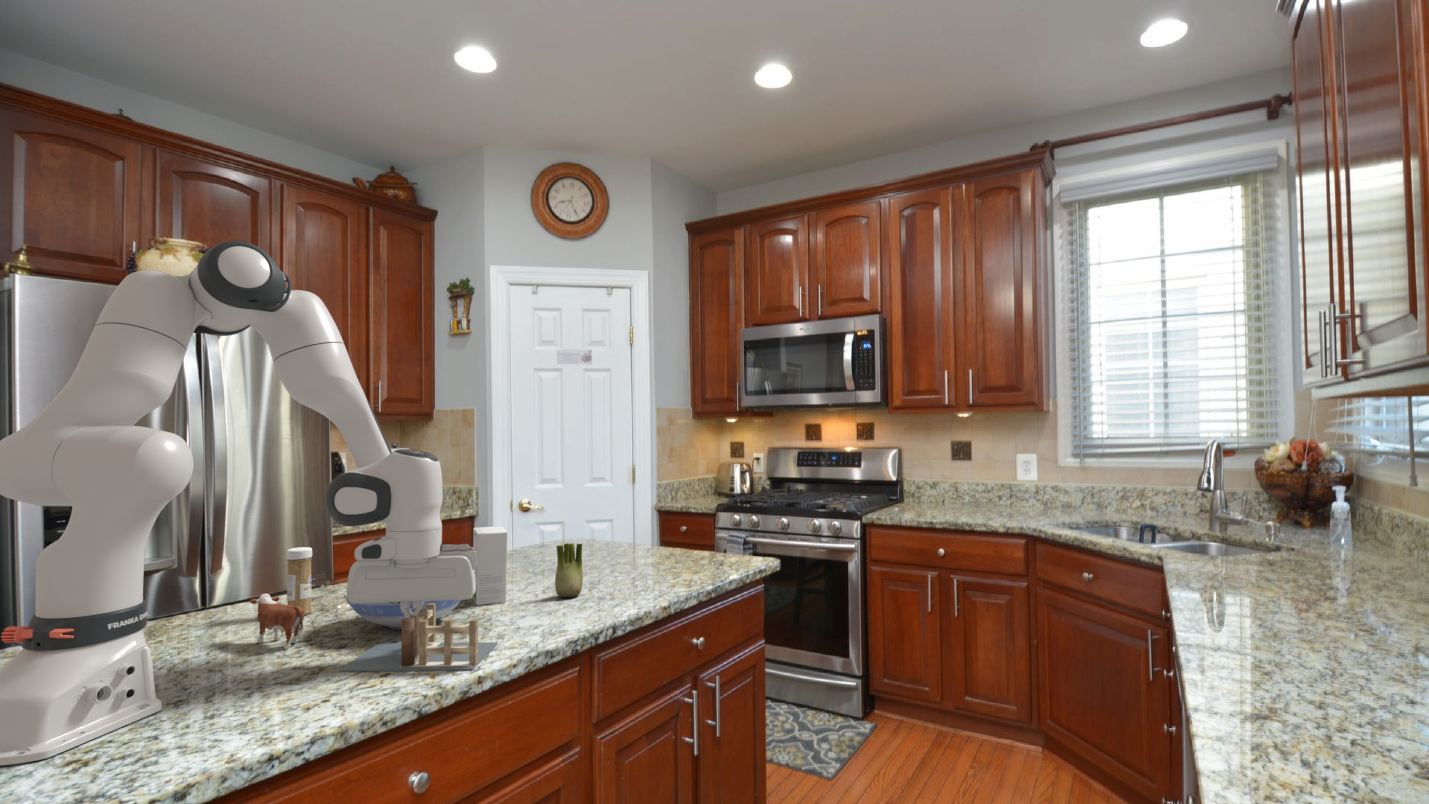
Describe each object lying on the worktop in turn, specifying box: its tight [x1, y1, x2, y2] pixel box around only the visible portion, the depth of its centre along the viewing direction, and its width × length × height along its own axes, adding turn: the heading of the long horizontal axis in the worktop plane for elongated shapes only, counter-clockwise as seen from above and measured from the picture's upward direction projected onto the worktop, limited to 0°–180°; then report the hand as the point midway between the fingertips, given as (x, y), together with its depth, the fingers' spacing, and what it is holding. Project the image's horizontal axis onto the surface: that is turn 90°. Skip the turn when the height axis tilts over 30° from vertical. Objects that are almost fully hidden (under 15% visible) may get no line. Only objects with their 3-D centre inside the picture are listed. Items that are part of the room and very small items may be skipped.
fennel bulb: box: [554, 543, 584, 599], centre depth 158 cm, size 6×5×12 cm
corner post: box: [400, 618, 415, 666], centre depth 114 cm, size 2×2×8 cm
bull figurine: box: [249, 593, 305, 650], centre depth 126 cm, size 4×13×8 cm, turn 59°
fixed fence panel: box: [419, 618, 479, 665], centre depth 114 cm, size 9×1×7 cm, turn 90°
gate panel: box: [409, 603, 437, 657], centre depth 120 cm, size 9×1×6 cm, turn 2°
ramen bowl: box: [342, 589, 462, 630], centre depth 138 cm, size 25×23×8 cm
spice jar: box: [285, 546, 313, 616], centre depth 146 cm, size 5×5×14 cm
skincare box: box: [471, 525, 508, 606], centre depth 156 cm, size 8×7×16 cm
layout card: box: [338, 641, 498, 673], centre depth 118 cm, size 13×21×1 cm, turn 90°
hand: (412, 626), depth 120 cm, fingers closed
